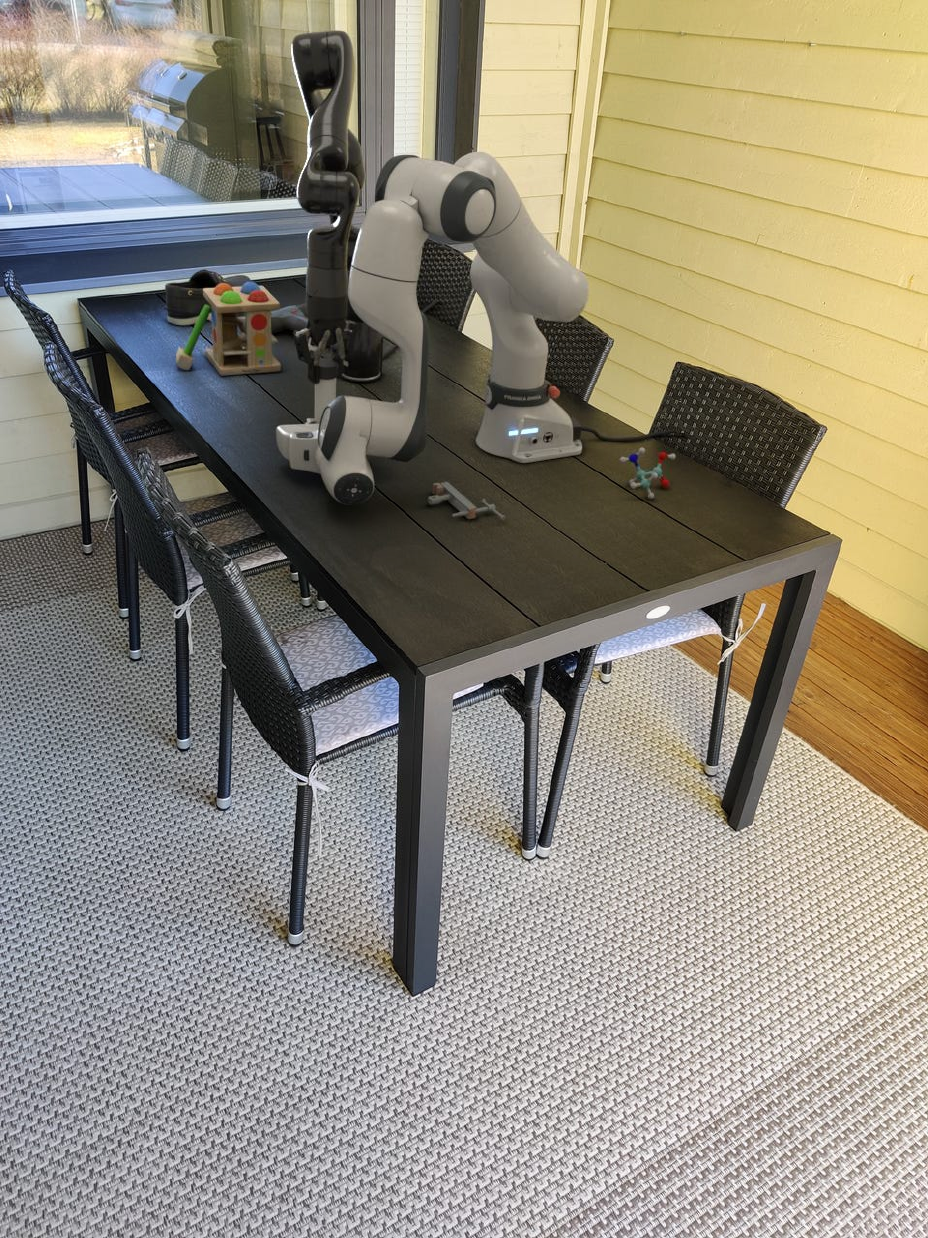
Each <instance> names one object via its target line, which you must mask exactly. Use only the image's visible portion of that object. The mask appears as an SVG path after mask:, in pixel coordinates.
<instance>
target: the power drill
mask: <svg viewBox="0 0 928 1238" xmlns="http://www.w3.org/2000/svg"><path fill="white" fill-rule="evenodd" d="M307 322H308V317H307V314H306V302H305V303H300V304H295V305H294V304H293V305H289V306H285V307H283V308H280V310H271V334H272V335H273V334H275V333H276V334H277V333H279V332H282V331H286V330H290V331H292V332H294V331H295V330H297V331H301V330H303V329H305V328H306V325H307ZM308 339H310V336H308Z"/></svg>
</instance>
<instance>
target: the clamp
mask: <svg viewBox="0 0 928 1238" xmlns="http://www.w3.org/2000/svg"><path fill="white" fill-rule="evenodd" d="M432 494H433V495H431V496H428V497H427V499H428V500H427V502H428V504H429V505H438V504H441V503H442V502H444V501H445V502H446V501H447V502H449V504H451V505H452V506H453V508H455V509H456V510H457V511H459V512H455V513H452V514H451V517H452V518H455V517H456V518H457V517H463V516H464V517H465V518H466V519H468V520H472V519H476V517H477V515H476V514H479V513H484V512H487V513H491V512H493V513H494V514H495V515H497V516H498V517H499V519H500V520H501V521H504V520H506V516H505V515H504V514H501V513H500V512H499V511H498V510H497V509H496V508H497V507H496V505H495V504H494V503H491V504H490V503H488V502H487V501H486V499H485V498H483V499H481V501H480V504H481V505H484V506H483V507H478V508H477V506H476V505H475V504H473V502H472V501H470V500H469V499H468V498H467V497H465V495H463V494H462V493H461V492H460V491H458V489H456V487H454V486H453V485H451V483H450V482H449V481H442V482H434V483H432Z"/></svg>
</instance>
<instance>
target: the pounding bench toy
mask: <svg viewBox="0 0 928 1238" xmlns="http://www.w3.org/2000/svg"><path fill="white" fill-rule="evenodd" d="M203 296H204V297H205V299H206V300H207V301H208V302H209V304H210V305H211V307H210V306H208V305H204V307H203V309H202V311H201V314H200V316H199V318H198V320H197V322H196V323H195V324H194V327H193V329H192V331H191V332H190V333H191V334H190V336H189V338H188V340H187V343H186V344H185V347H184V348H182V347H180V346H179V347H178V349H177V351H176V354H175V357H174V358H175V362H176V365H177V366H178V368H179V369H182V370H185V371H189V370H190V369H191V367H192V365H193V363H194V356H193V351H194V348H195V347H196V345H197V342H198V340H199V337H200V336H201V333H202V332H203V329H204V326H205V325H206V322H207V321H210V322H211V336H212V337H211V338H212V339H211V340H212V348H205V349H204V352H205V353H204V355H205V357H206V359H208V361H209V363H210V364H211V365H212V366H213V367H214V369H215V370H216V371H217V372H218V374H219V375H220V376H222V377H223V376H234V375H235V376H236V375H246V374H247V375H250V374H262V373H275V372H281V370H282V364H281V363H280V362H279V360H278V359H277V358H276V357H275V356H274V355H273V348H272V347H273V345H272V344H276V343H278V342H279V341H278V339H277V338H276V337H275V336H274V334H273V333H272V334H271V312H272V311H275V310H280V309H281V304H280V301H278V300H277V299H276V297H274V296H273V295H272V294H271V293H270V292H269V290H268V289H267V288H266V287H264V285H259V284H257V283H256V282H255V281H252V282H247V283H245V284H244V285H243V286H242V287H231V286H230V285H228V284H226V283H221V284H218V285H217V286H216V287H215V288H204V289H203ZM210 310H211V314H209V312H210ZM238 313H244V314H245V315H244V316H238ZM207 318H209V320H207ZM238 329H239V331H240V333H239V334H238Z"/></svg>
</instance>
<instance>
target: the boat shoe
mask: <svg viewBox="0 0 928 1238" xmlns="http://www.w3.org/2000/svg"><path fill="white" fill-rule="evenodd" d="M247 282H253V281H252V280H251V278H250V277H249V276H247V275H244V274H235V275H232V276H231V275H230V276H227V277H223V276H222V275H221V274H219V273H217V272H215V271H212V270H207V269H200V270H198V271H196V272H194V273H193V274H192V275H191V276H190V278H189V279H188V280H187V281H180V282H167V283H166V284H165V285H164V289H165V295H166V296H165V306H164V310H165V311H166V312H167V313H166V318H167V322H168V323H170V324H173V325H176V326H190V325H195V324H196V322H197V320H198V318H199V316H200V314H201V311H202V309H203V307H204V305H208V306H210V307H211V305H210V304H209V302H208V301H207V300H206V299H205V297H204V296H203V289H204V288H215V287H216V286H217V285H218V284H221V283H226V284H228V285H230V286H231V287H242V286H243V285H244V284H245V283H247ZM209 314H211V310H210V312H209ZM206 321H210V320H209V318H207V320H206Z"/></svg>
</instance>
